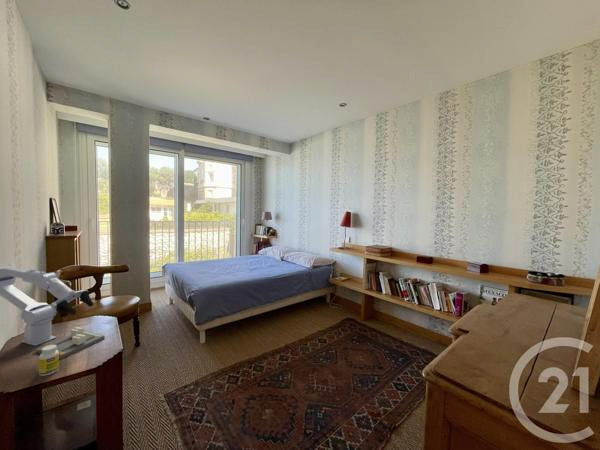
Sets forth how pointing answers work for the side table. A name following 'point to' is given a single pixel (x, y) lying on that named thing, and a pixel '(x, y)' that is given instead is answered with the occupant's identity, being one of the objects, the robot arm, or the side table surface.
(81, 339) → the block
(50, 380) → the side table surface
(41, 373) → the supplement bottle
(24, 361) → the side table surface
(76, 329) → the cream slider knob
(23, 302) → the robot arm
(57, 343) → the panel
